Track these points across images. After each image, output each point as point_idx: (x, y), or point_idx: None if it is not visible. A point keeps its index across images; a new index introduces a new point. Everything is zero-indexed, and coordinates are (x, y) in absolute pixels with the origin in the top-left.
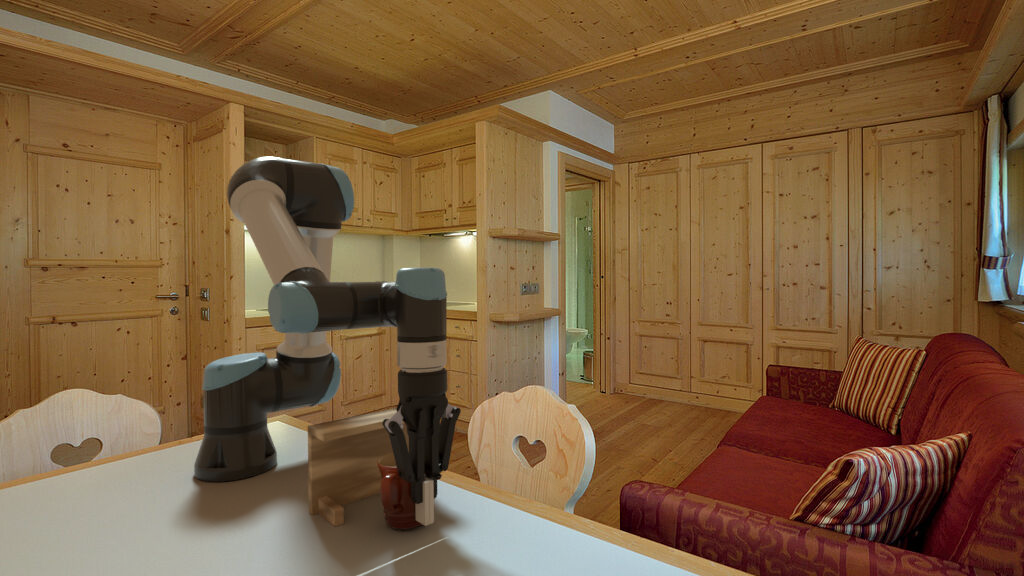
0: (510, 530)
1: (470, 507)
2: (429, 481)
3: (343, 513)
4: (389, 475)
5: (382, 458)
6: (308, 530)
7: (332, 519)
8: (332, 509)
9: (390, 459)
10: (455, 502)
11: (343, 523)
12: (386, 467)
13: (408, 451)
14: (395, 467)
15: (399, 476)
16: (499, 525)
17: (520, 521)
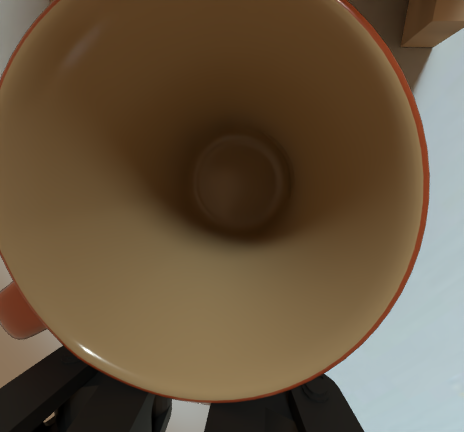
0: (381, 391)
1: (428, 239)
2: (201, 403)
3: None
4: (13, 322)
5: (76, 19)
6: (28, 11)
7: None
8: (50, 3)
9: (172, 19)
10: (430, 177)
11: None
12: (6, 258)
13: (340, 34)
14: (40, 316)
15: (63, 348)
16: (386, 360)
17: (437, 385)
